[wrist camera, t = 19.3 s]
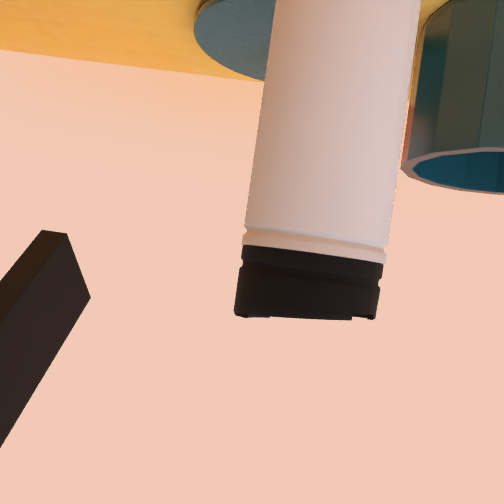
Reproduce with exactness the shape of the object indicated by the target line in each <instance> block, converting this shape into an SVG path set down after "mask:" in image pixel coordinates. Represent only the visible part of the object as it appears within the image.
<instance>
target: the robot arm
mask: <svg viewBox="0 0 504 504" xmlns="http://www.w3.org/2000/svg"><path fill="white" fill-rule="evenodd" d="M90 298H91V297H90V294H89V292H88V289H87V286H86V284H85V281H84V278H83V276H82V273H81V270H80V268H79V265H78V262H77V260H76V257H75V254H74V252H73V249H72V246H71V244H70V241H69V239H68V236H67V233H60V232H52V231H45V230H41V232H40V233H39V234H38V235H37V237H36V238H35V239H34V240H33V241H32V243H31V244H30V245H29V247H28V248H27V249H26V250H25V251H24V253H23V254H22V255H21V256H20V257H19V259H18V260H17V261H16V262H15V264H14V265H13V266H12V267H11V269H10V270H9V271H8V272H7V273H6V275H5V276H4V277H3V278H2V280H1V281H0V448H1V446H2V444H3V443H4V441H5V439H6V437H7V436H8V434H9V433H10V431H11V429H12V428H13V426H14V424H15V423H16V421H17V419H18V418H19V416H20V414H21V413H22V411H23V409H24V408H25V406H26V404H27V403H28V401H29V399H30V398H31V396H32V394H33V393H34V391H35V389H36V388H37V386H38V384H39V383H40V381H41V380H42V378H43V376H44V375H45V372H46V371H47V369H48V368H49V366H50V365H51V363H52V361H53V360H54V358H55V356H56V355H57V353H58V351H59V350H60V348H61V346H62V345H63V343H64V341H65V340H66V338H67V336H68V335H69V333H70V331H71V330H72V328H73V326H74V325H75V323H76V321H77V320H78V318H79V316H80V315H81V313H82V311H83V310H84V308H85V306H86V305H87V303H88V301H89V300H90Z"/></svg>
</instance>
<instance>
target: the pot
mask: <svg viewBox="0 0 504 504" xmlns="http://www.w3.org/2000/svg"><path fill="white" fill-rule="evenodd" d="M401 170H402V171H403V172H404V173H405V174H406V175H407V176H408V177H410V178H413V179H416V180H419V181H421V182H424V183H427V184H430V185H435V186H440V187H444V188H450V189H454V190H460V191H470V192H478V193H486V194H499V195H504V0H451V1H449V2H448V3H446V4H445V5H443V6H442V7H440V8H439V9H438V10H437V11H436V12H435V13H433V14H432V15H431V17H430V18H429V19H428V20H427V21H426V23H425V25H424V27H423V28H422V32H421V36H420V41H419V43H418V46H417V53H416V60H415V67H414V74H413V82H412V89H411V96H410V104H409V111H408V118H407V125H406V132H405V140H404V147H403V154H402V161H401Z"/></svg>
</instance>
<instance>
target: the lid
mask: <svg viewBox="0 0 504 504" xmlns="http://www.w3.org/2000/svg"><path fill="white" fill-rule="evenodd" d="M275 4H276V0H208V1H207V2H206V3H205V4H203V5H202V7H201V8H200V9H199V11H198V12H197V15H196V17H195V24H194V34H195V38H196V40H197V43H198V44H199V45H200V47H201V48H202V49H203V50H204V52H205V53H206V54H208V55H209V56H210V57H211V58H212V59H214V60H215V61H217V62H218V63H220V64H221V65H223V66H225V67H227V68H229V69H231V70H233V71H235V72H238V73H240V74H243V75H245V76H248V77H252V78H255V79H258V80H262V81H265V75H266V68H267V61H268V54H269V47H270V40H271V33H272V26H273V19H274V12H275Z"/></svg>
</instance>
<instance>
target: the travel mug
mask: <svg viewBox="0 0 504 504" xmlns="http://www.w3.org/2000/svg"><path fill="white" fill-rule="evenodd" d="M420 6H421V0H276V4H275V12H274V19H273V26H272V33H271V40H270V47H269V54H268V61H267V68H266V75H265V82H264V90H263V97H262V104H261V111H260V118H259V125H258V132H257V139H256V147H255V154H254V162H253V168H252V175H251V182H250V189H249V196H248V203H247V211H246V217H245V225H244V226H245V228H246V229H247V232H246V233H245V234H244V235H243V239H242V245H243V248H242V255H241V259H242V260H243V265H242V267H240V269H239V276H238V283H237V291H236V298H235V305H234V313H235V315H237V316H241V317H244V318H248V317H249V318H250V317H265V318H266V317H267V318H269V317H270V316H272V317H286V318H303V319H326V320H351V319H352V316H353V317H362V318H367V319H370V320H373V319H375V317H376V310H377V305H378V299H379V293H380V287H379V286H378V281H379V279H381V278H382V272H383V264H385V260H386V254H385V252H384V250H383V249H384V247H386V246H387V245H388V238H389V231H390V224H391V217H392V210H393V202H394V194H395V188H396V181H397V173H398V166H399V159H400V152H401V144H402V137H403V130H404V122H405V115H406V108H407V101H408V93H409V86H410V79H411V72H412V64H413V57H414V50H415V43H416V35H417V28H418V21H419V14H420Z"/></svg>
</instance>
